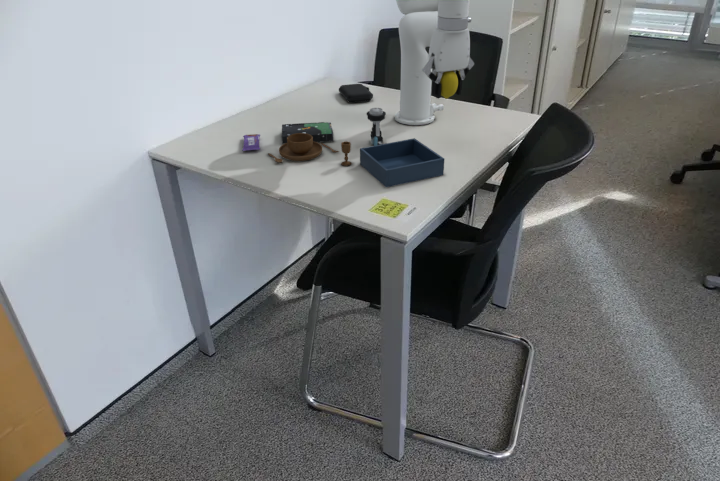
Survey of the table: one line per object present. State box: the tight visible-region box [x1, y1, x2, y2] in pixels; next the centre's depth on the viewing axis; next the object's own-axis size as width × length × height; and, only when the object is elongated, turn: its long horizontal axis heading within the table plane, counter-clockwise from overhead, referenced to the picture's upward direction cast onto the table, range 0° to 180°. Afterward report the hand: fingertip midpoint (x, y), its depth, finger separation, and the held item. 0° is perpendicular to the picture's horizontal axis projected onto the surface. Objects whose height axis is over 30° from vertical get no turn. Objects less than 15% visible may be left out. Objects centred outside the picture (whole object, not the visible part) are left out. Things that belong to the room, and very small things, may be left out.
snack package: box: [241, 133, 261, 152], centre depth 154 cm, size 12×2×5 cm
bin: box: [359, 137, 445, 188], centre depth 138 cm, size 16×15×4 cm
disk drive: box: [281, 121, 334, 145], centre depth 159 cm, size 10×3×15 cm
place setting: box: [267, 133, 353, 167], centre depth 144 cm, size 18×20×6 cm
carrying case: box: [338, 83, 374, 104], centre depth 191 cm, size 11×3×15 cm
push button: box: [366, 107, 387, 146], centre depth 151 cm, size 7×5×10 cm
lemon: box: [440, 71, 458, 100], centre depth 143 cm, size 6×6×8 cm
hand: (446, 94), depth 144 cm, fingers closed on lemon, 5 cm apart
